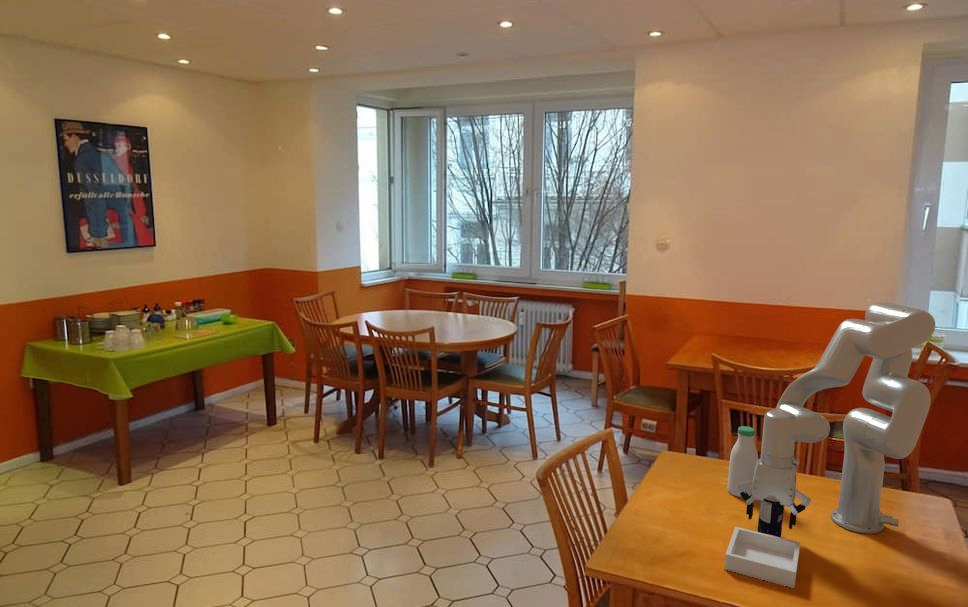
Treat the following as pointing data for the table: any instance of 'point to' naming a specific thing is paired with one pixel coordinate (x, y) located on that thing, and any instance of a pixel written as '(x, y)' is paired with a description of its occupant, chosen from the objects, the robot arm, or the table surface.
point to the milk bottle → (742, 461)
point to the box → (763, 556)
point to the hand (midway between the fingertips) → (770, 522)
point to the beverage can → (770, 516)
